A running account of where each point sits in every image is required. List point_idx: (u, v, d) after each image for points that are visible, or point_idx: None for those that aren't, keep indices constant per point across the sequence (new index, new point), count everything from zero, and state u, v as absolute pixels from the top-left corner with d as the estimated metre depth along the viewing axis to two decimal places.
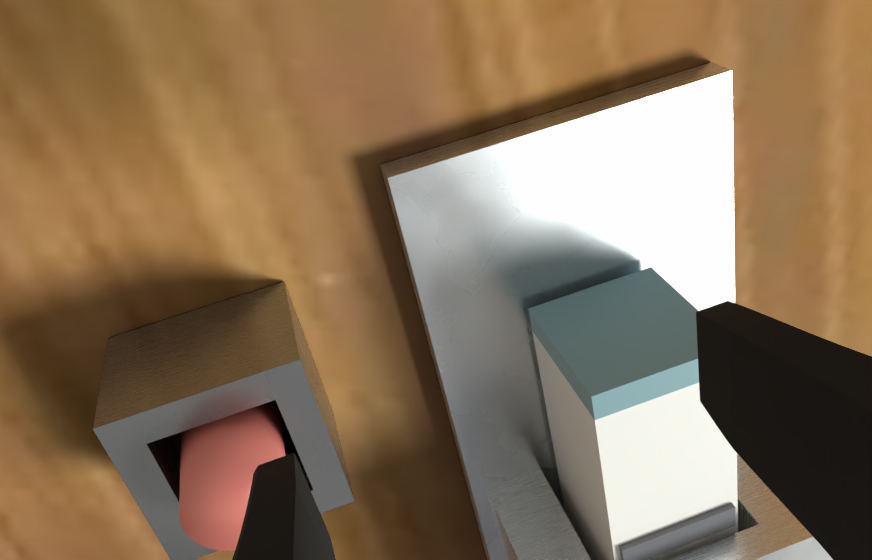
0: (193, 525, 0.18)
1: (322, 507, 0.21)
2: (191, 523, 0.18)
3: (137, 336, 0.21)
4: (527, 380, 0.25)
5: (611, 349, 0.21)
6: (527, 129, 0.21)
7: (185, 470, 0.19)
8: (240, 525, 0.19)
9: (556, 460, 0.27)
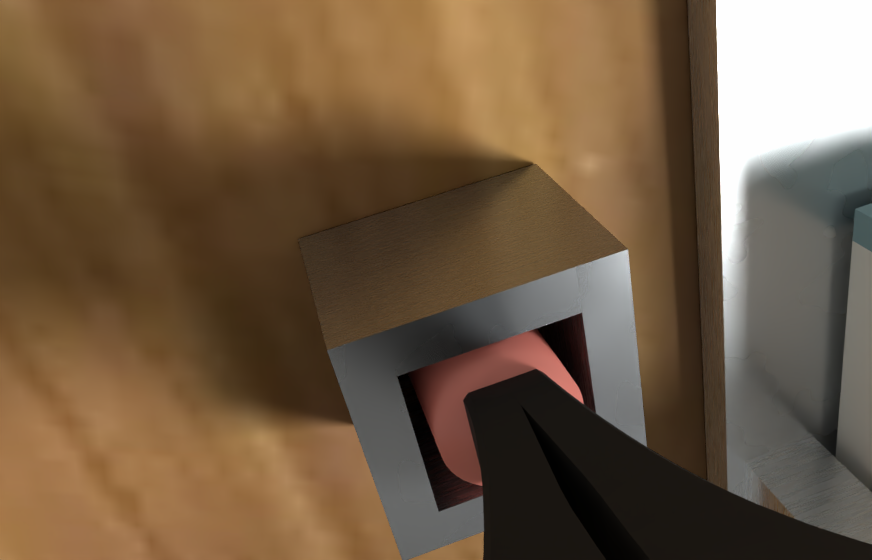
0: (454, 447, 0.13)
1: None
2: (452, 444, 0.13)
3: (342, 235, 0.15)
4: (824, 314, 0.19)
5: None
6: None
7: (438, 372, 0.13)
8: None
9: (840, 424, 0.20)
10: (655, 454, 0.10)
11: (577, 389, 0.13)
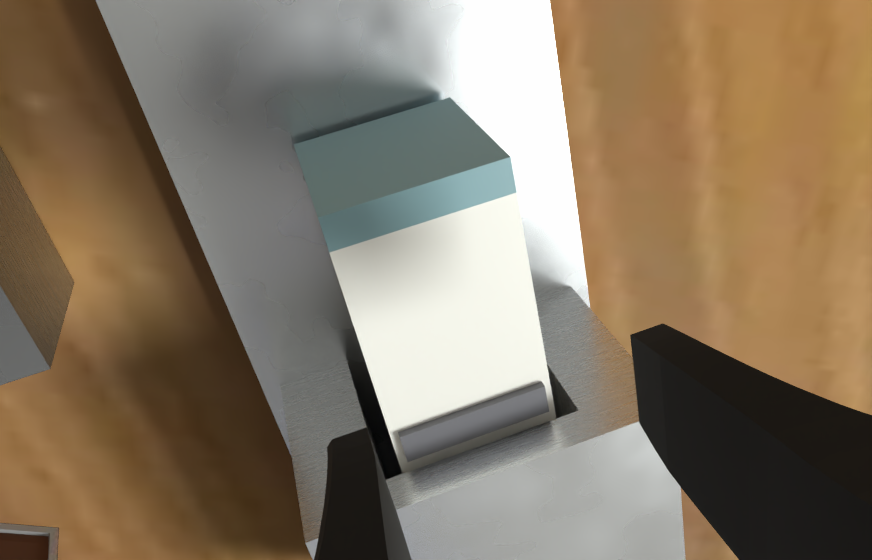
0: None
1: (5, 374, 0.17)
2: None
3: None
4: (312, 245, 0.21)
5: (365, 172, 0.17)
6: None
7: None
8: None
9: None
10: (814, 395, 0.10)
11: None
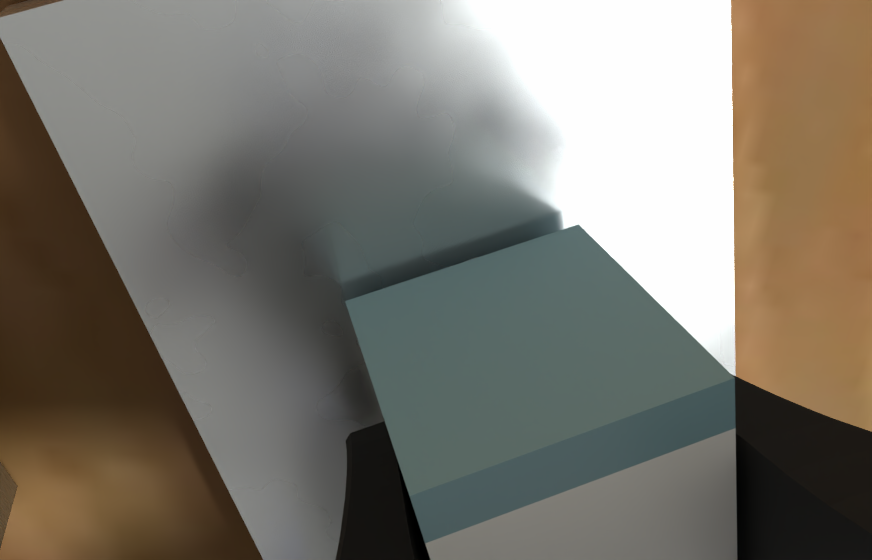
0: None
1: None
2: None
3: None
4: None
5: (475, 384, 0.10)
6: None
7: None
8: None
9: None
10: (793, 403, 0.10)
11: None
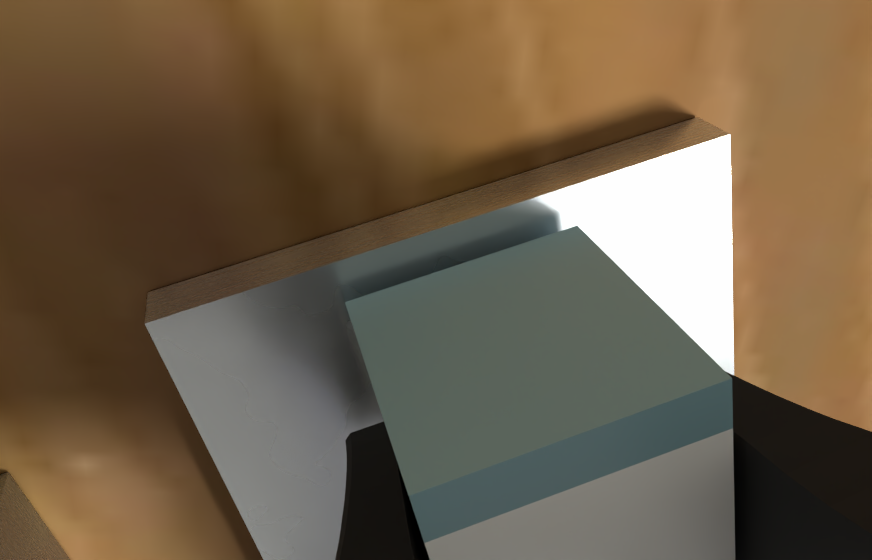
0: None
1: None
2: None
3: None
4: None
5: (474, 385, 0.10)
6: (391, 233, 0.13)
7: None
8: None
9: None
10: (793, 403, 0.10)
11: None
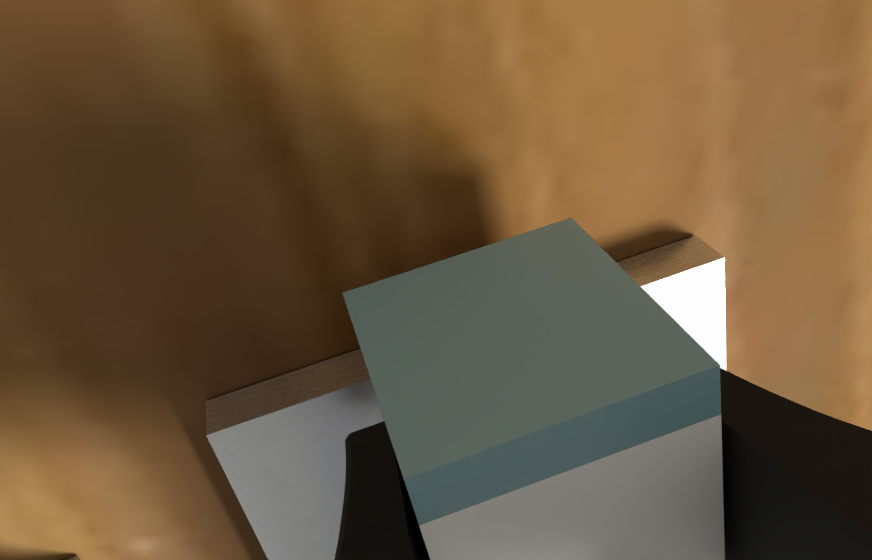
0: None
1: None
2: None
3: None
4: None
5: (468, 372, 0.10)
6: None
7: None
8: None
9: None
10: (794, 402, 0.10)
11: None
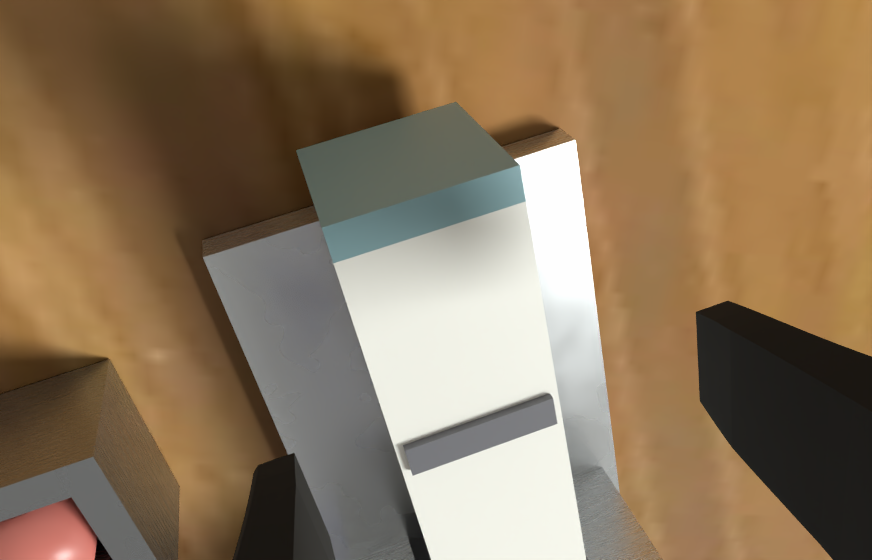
0: None
1: None
2: None
3: None
4: (383, 453, 0.24)
5: (370, 180, 0.16)
6: None
7: None
8: None
9: None
10: None
11: (79, 547, 0.19)
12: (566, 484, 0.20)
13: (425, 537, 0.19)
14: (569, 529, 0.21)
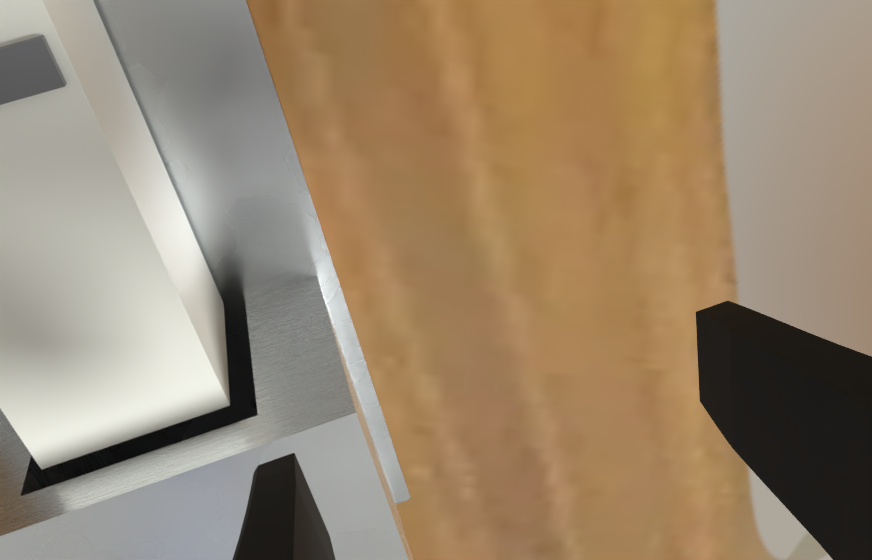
0: None
1: None
2: None
3: None
4: None
5: None
6: None
7: None
8: None
9: None
10: None
11: None
12: (126, 204, 0.14)
13: None
14: (154, 283, 0.15)
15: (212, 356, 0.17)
